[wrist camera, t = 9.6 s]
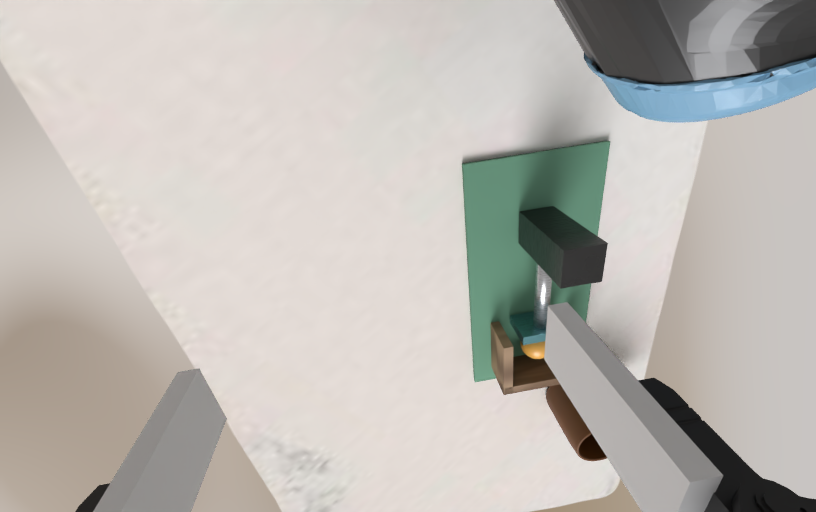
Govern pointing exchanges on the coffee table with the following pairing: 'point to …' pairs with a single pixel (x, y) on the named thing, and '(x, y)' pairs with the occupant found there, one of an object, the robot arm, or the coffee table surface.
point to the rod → (555, 263)
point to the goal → (516, 366)
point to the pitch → (499, 232)
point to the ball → (534, 350)
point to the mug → (573, 425)
